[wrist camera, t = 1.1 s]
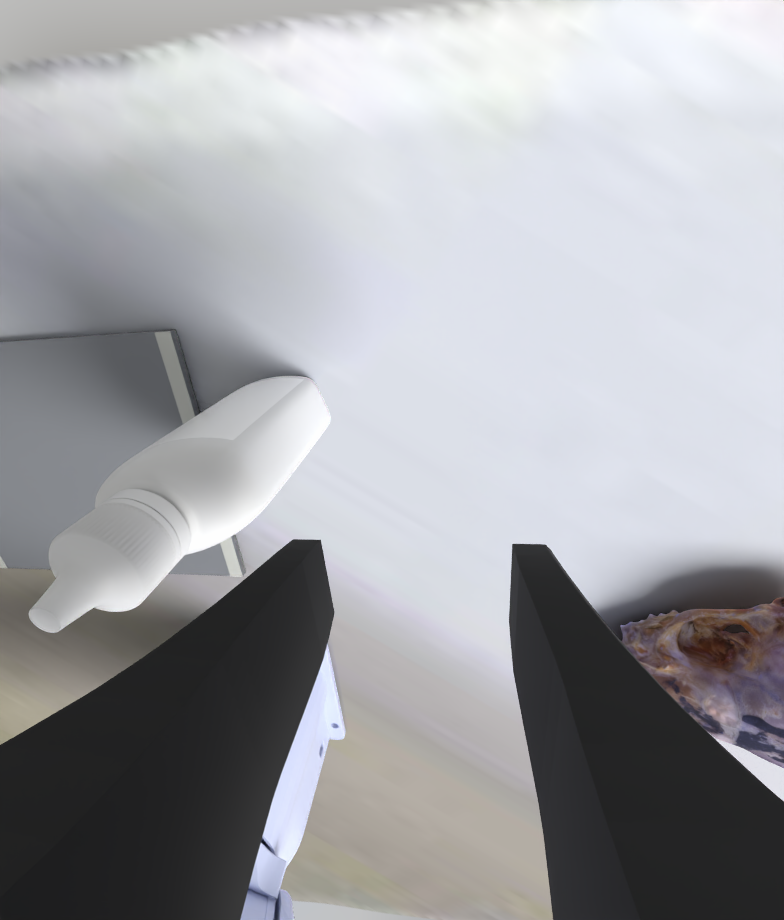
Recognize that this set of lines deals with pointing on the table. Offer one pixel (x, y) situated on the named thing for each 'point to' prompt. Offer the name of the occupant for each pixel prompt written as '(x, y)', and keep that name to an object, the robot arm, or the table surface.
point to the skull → (721, 670)
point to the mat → (86, 434)
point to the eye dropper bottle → (181, 498)
